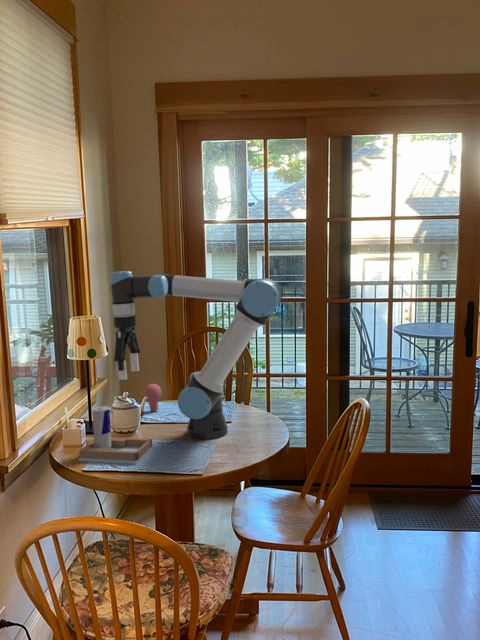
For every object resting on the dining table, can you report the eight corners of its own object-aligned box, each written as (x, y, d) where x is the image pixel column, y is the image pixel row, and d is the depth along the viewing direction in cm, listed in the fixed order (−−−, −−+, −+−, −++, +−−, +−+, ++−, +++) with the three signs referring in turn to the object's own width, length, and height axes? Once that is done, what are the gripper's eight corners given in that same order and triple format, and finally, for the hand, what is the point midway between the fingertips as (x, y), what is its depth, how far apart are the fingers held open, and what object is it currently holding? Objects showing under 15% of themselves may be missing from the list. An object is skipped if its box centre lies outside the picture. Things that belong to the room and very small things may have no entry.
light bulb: (143, 413, 242) (141, 385, 240) (148, 408, 249) (147, 381, 247) (159, 414, 240) (158, 386, 239) (164, 409, 247) (163, 382, 246)
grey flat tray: (153, 447, 200) (152, 438, 199) (136, 464, 184) (135, 454, 184) (99, 444, 204) (99, 435, 203) (78, 461, 188) (78, 451, 188)
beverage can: (107, 454, 192) (105, 410, 190) (91, 453, 193) (89, 410, 191) (114, 448, 197) (112, 406, 195) (99, 447, 198) (96, 405, 196)
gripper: (125, 312, 213) (130, 368, 215) (101, 320, 188) (106, 383, 191) (145, 311, 212) (149, 367, 214) (123, 319, 187) (128, 383, 190)
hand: (129, 375), depth 202 cm, fingers open, 13 cm apart
